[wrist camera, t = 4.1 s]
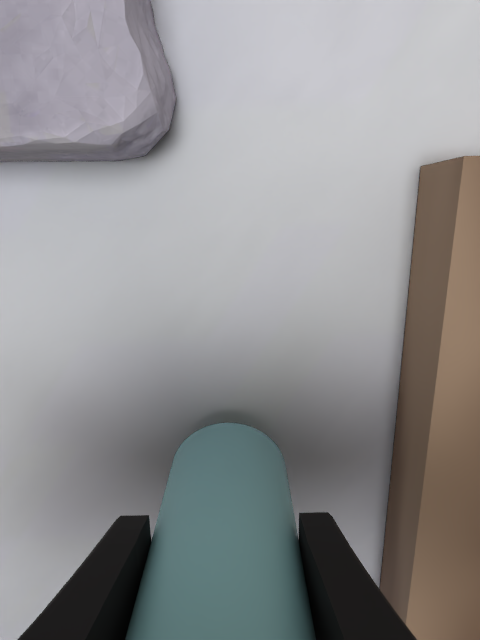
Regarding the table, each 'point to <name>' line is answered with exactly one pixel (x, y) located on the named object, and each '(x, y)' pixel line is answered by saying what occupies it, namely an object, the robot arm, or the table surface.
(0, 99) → the stone block
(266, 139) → the table surface
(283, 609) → the teal pin
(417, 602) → the pin board
